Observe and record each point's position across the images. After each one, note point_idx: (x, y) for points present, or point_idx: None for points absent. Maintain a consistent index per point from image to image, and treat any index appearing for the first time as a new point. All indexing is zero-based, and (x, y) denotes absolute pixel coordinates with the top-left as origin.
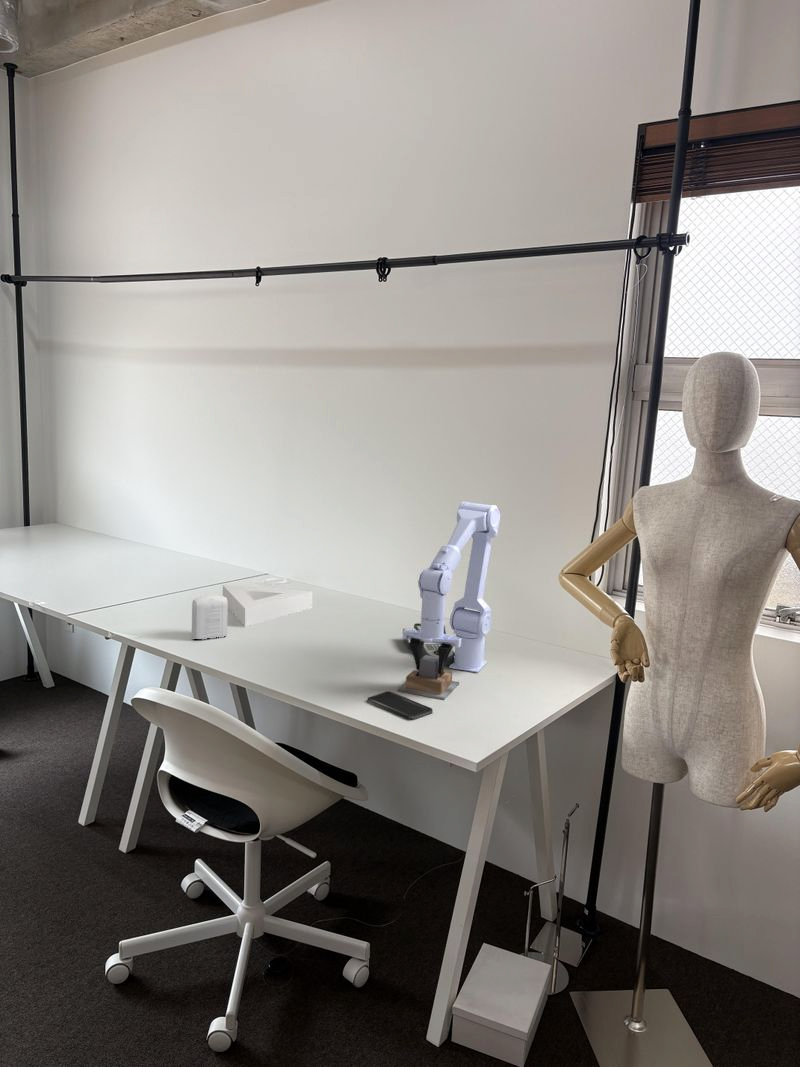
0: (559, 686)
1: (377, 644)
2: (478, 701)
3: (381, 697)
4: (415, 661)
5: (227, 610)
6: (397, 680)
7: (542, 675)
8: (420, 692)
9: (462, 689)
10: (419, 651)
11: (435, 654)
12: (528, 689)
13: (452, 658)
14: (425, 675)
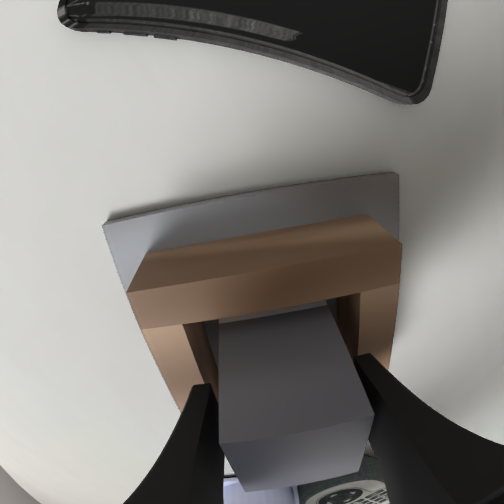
0: (21, 462)
1: (491, 431)
2: (11, 302)
3: (407, 8)
4: (403, 386)
5: None
6: (432, 298)
7: (86, 494)
8: (261, 208)
9: (136, 378)
10: (407, 471)
11: (352, 488)
12: (30, 439)
13: (299, 496)
14: (287, 333)
